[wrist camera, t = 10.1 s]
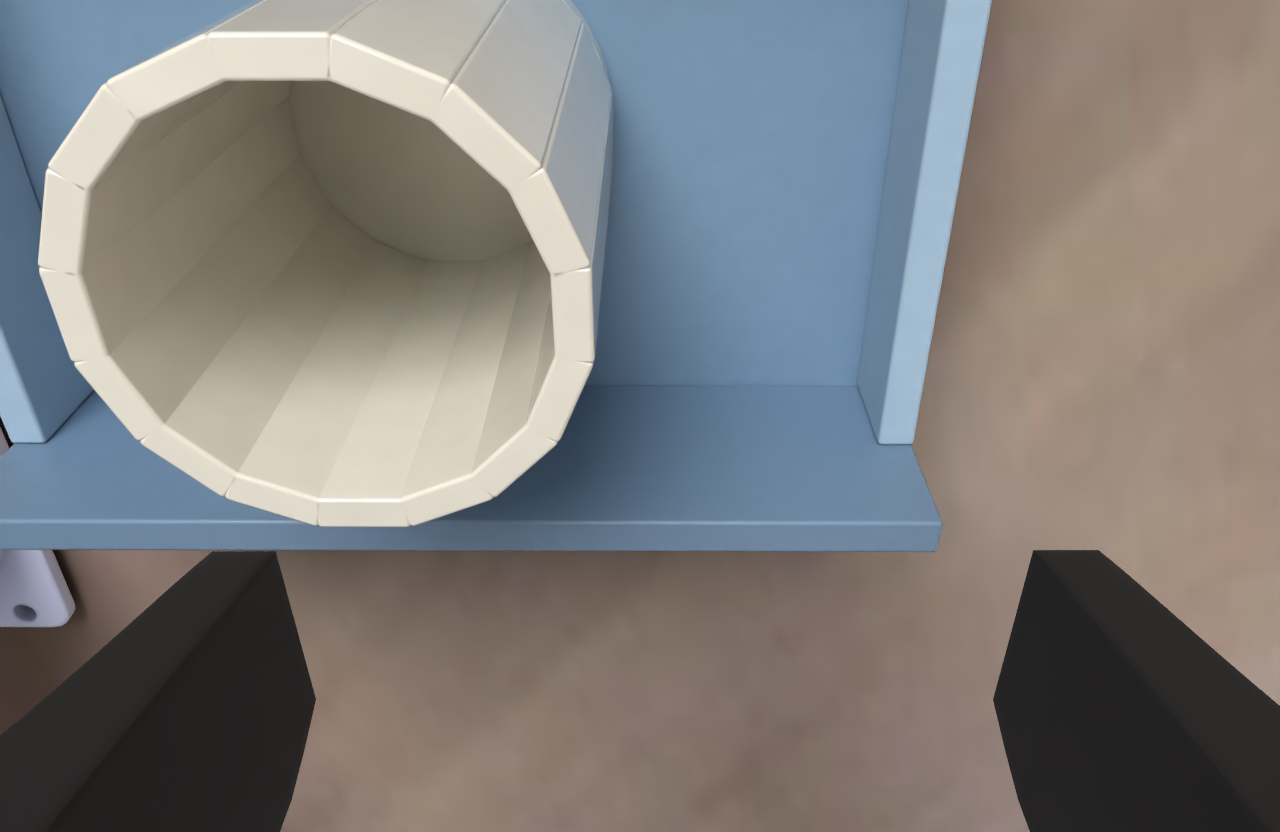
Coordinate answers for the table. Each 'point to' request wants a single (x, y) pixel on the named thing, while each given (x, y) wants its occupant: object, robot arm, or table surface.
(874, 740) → the table surface
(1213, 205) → the table surface
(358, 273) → the cup
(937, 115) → the light blue shelf
